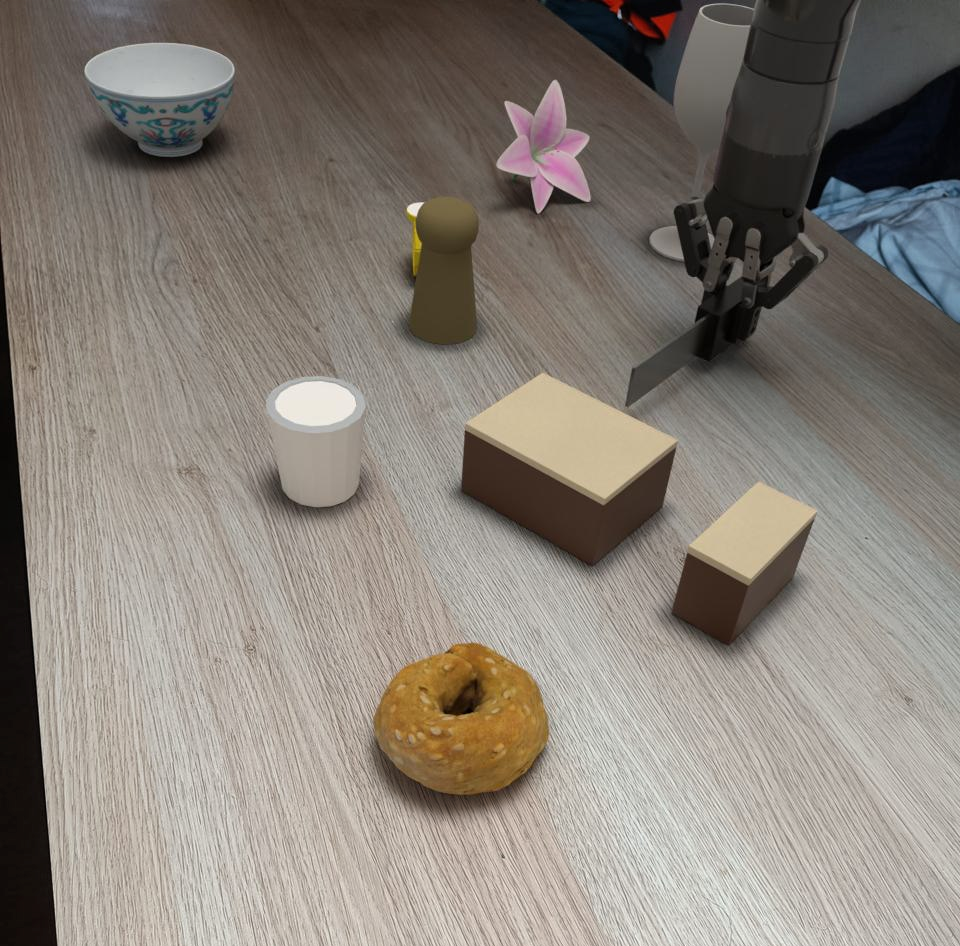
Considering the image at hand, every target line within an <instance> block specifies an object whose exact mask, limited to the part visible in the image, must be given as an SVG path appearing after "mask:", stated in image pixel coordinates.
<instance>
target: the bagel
mask: <svg viewBox="0 0 960 946" xmlns="http://www.w3.org/2000/svg"><path fill="white" fill-rule="evenodd" d="M544 706H545V705H544V699H543V697H542V694H541V689H540V687H539V685H538V682H537V680H535V679H534V677H533V676H532V674H531V673H530V672H529V671H528V670H526V669H525V668H523V667H521V666H520V665H518V664H516V663H515V662H513V661H512V660H510V659H508V658H506V657H505V656H503V655H502V654H500V653H498V652H497V651H495V650H494V649H492V648H490V647H487V646H486V645H484V644H481V643H479V642H467V643H466V642H465V643H462V642H461V643H456V644H454V645H451V646H450V647H449V648H448V649H447V650H446V651H445V652H440V653H438V654H432V655H430V656H428V657H425V658H423V659H420V660H418V661H416V662H415V661H414V662H410V663H409V664H407V665H405V666H404V667H402V669H401V670H399V671H398V672H397V673H396V675H395V676H394V677H393V678H392V679H391V680H390V682H389V684H388V685H387V687H386V688H385V691H384V692H383V693H382V696H381V698H380V702H379V704H377V707H376V712H375V714H374V715H373V718H372V719H373V720H372V721H373V725H374V736H375V738H376V740H377V743H378V746H379V748H380V749H381V751H382V752H383V753H385V754H386V755H387V756H388V758H389V760H390V761H391V762H392V763H393V764H394V766H395V767H396V768H397V769H398V770H400V771H401V772H402V773H403V774H405V776H407V777H408V778H410V779H412V780H413V781H415V782H419V784H421V785H422V786H423V787H426V788H428V789H430V790H433V791H435V792H438V793H443V794H450V795H458V796H461V795H465V796H466V795H467V796H471V795H477V794H483V793H488V792H496V791H500V790H502V788H505V787H508V786H509V785H511V783H512V782H514V781H515V780H516V779H518V778H520V777H521V776H522V775H524V774H525V773H526V772H527V771H528V770H529V769H530V768H531V767H532V765H533V763H534V762H535V760H536V758H537V757H538V756H539V754H540V753H541V752H542V751H543V750H544V748H545V747H546V745H547V743H548V741H549V738H550V737H549V736H550V727H549V716H548V714H547V711H546V708H545V707H544ZM468 709H470V710H471V711H472V712H470V713H466V712H467V710H468ZM464 713H465V714H464Z"/></svg>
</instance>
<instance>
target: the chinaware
mask: <svg viewBox="0 0 960 946" xmlns="http://www.w3.org/2000/svg"><path fill="white" fill-rule="evenodd" d="M235 70H236V69H235V66H234V64H233V62H232V61H231V60H230V59H229V58H228V57H226V56H225V55H223V54H221V53H220V52H217V51H215V50H212V49H209V48H206V47H202V46H197V45H193V44H185V43H174V42H148V43H147V42H146V43H145V42H144V43H136V44H128V45H123V46H118V47H115V48H112V49H108V50H105V51H103V52H100V53H99V54H97V55H95V56H94V57H92V58H91V59H89V61H88V62H86V65H85V67H84V76H85V79H86V81H87V84H88V87H89V89H90V91H91V93H92V97H93V98H94V100H95V101H96V104H97V105H98V107H99V108H100V110H101V111H102V113H103V114H104V115H105V117H106V118H107V119H108V120H109V121H110V122H111V124H113V125H114V127H116V128H117V129H118V130H119V131H121V132H122V133H123V134H125V135H126V136H127V137H128V138H131V140H134V141H136V142H137V144H138V147H139V148H140V150H142V151H143V152H144V153H146V154H149V155H151V156H156V157H163V158H177V157H185V156H188V155H191V154H193V153H196V152H197V151H199V150H200V149H201V148H202V146H203V139H205V138H206V137H207V136H208V135H210V134H211V133H212V132H213V131H214V130H215V129H216V128H217V127H218V125H219V124H220V123H221V121H223V118H224V117H225V115H226V112H227V110H228V108H229V105H230V103H231V99H232V96H233V91H234V84H235V74H236V73H235V72H236V71H235Z"/></svg>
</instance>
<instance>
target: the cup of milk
mask: <svg viewBox="0 0 960 946" xmlns="http://www.w3.org/2000/svg"><path fill="white" fill-rule="evenodd" d="M265 406H266V414H267V415H266V416H267V420H268V425H269V429H270V430H269V431H270V434H271V440H272V445H273V450H274V455H275V458H276V464H277V469H278V474H279V478H280V484H281V488H282V491H283V492H284V494H285V495H286V496H287V497H288V499H290V500H291V501H293V502H295V503H297V504H299V505H301V506H307V507H310V508H311V507H312V508H328V507H333V506H336V505H339V504H342V503H345V502H346V501H348V500H349V499H350V498H352V497H353V496H354V495H355V494H356V492H357V489H358V488H359V485H360V476H361V464H362V452H363V444H364V443H363V442H364V433H365V432H364V429H365V422H366V410H367V405H366V400H365V395H364V394H363V393H362V392H361V391H360V390H359V389H358V388H357V387H356V386H355V385H353V384H351V383H349V382H347V381H345V380H342V379H340V378H337V377H336V378H335V377H330V376H323V375H314V376H313V375H312V376H300V377H297V378H293V379H291V380H288V381H287V380H286V381H284V382H282V384H280V385H278V386H276V387H275V388H273V389H272V390H271V392H270V393H269V395H268V397H267V398H266V400H265Z"/></svg>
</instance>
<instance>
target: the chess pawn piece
mask: <svg viewBox="0 0 960 946" xmlns="http://www.w3.org/2000/svg"><path fill="white" fill-rule="evenodd" d="M423 203H424V204H422V206H421V207H420V209H419V210H418V213H417V217H416V224H415V228H416V232H417V236H418V238H419V240H420V241H421V243H422V245H421V251H420V258H419V264H418V270H417V276H416V277H415V282H414V290H413V295H412V302H411V308H410V315H409V319H408V327H409V330H410V332H411V333H412V334H413V335H414V336H415V337H417V338H419V339H420V340H422V341H425V342H428V343H431V344H438V345H454V344H458V343H462V342H466V341H468V340H469V339H471V338H473V337H474V336H475V334H476V333H477V330H478V319H477V307H476V306H477V305H476V293H475V292H476V291H475V280H474V269H473V268H474V267H473V252H472V245H473V244H474V243H475V242H476V240H477V237H478V234H479V229H480V219H479V215H478V214H477V211H476V209H475V208H474V206H473V205H472V204H471V203H470V202H468V201H466V200H465V199H461V198H459V197H454V196H438V197H433V198H430V199H428V200H426V201H424V202H423Z"/></svg>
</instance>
